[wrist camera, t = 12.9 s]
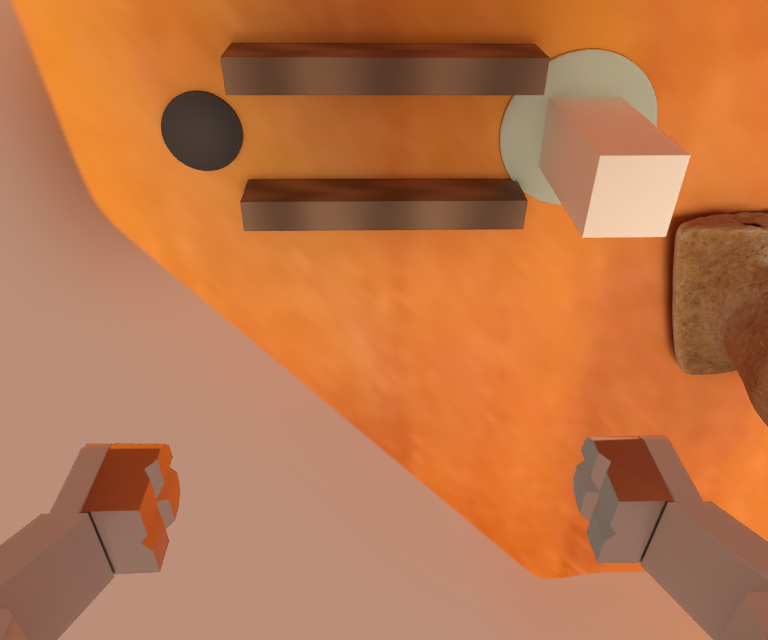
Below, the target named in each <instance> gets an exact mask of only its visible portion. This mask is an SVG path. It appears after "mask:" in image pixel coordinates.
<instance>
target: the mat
mask: <svg viewBox="0 0 768 640" xmlns="http://www.w3.org/2000/svg"><path fill="white" fill-rule="evenodd" d="M549 97H622V98H623V99H624V100H626V101H627V102H628V103H629V104H630V105H632V106H633V107H634V108H635V109H636V110H638V111H639V112H640V113H641V114H642V115H643V116H645V117H646V118H647V119H648V120H649V121H651V122H652V123H653V124H654V125H655V126H656V125H657V116H658V110H657V101H656V96H655V92H654V90H653V87H652V84H651V83H650V81H649V79H648V77H647V76H646V75H645V73H644V72H643V71H642V70H641V69H640V68H639V67H638V66H637V65H636V64H635V63H633V62H632V61H631V60H629V59H627V58H626V57H624V56H622V55H620V54H617V53H615V52H612V51H607V50H603V49H581V50H576V51H571V52H568V53H565V54H562V55H559V56H557V57H555V58H553V59H551V60H549V67H548V73H547V79H546V86H545V92H544V95H513V96H512V98H511V99H510V101H509V103H508V105H507V108H506V110H505V112H504V116H503V119H502V123H501V128H500V139H499V143H500V152H501V157H502V161H503V163H504V166H505V168H506V170H507V172H508V174H509V176H510V177H511V179H512V180H513V181H518V183H519V185H520V187H521V189H522V191H523V192H525V193H526V194H528V195H529V196H531V197H533V198H535V199H537V200H540V201H543V202H546V203H551V204H559V205H562V204H561V202H560V200H559V199H558V197H557V196H556V194H555V192H554V191H553V189H552V188H551V186H550V184H549V183H548V181H547V179H546V178H545V176H544V175H543V173H542V171H541V170H540V168H539V166H538V165H539V158H540V152H541V146H542V140H543V133H544V127H545V121H546V114H547V108H548V102H549Z"/></svg>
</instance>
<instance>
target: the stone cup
mask: <svg viewBox="0 0 768 640" xmlns="http://www.w3.org/2000/svg"><path fill="white" fill-rule="evenodd" d="M672 326H673V340H674V351H675V356H676V360H677V362H678V365H679V366H680V368H681V370H682V371H683V372H685V373H687V374H691V375H704V374H719V373H726V372H732V371H736V370H737V371H738V373H739V375H740V377H741V379H742V381H743V383H744V385H745V388H746V391H747V393H748V396H749V398H750V401H751V403H752V405H753V407H754V409H755V410H756V412H757V413H758V415H759V416H760V417H761V418H762V420H763V421H764V422H765V424H766V425H767V426H768V213H760V212H755V213H749V212H740V213H736V214H728V213H726V214H713V215H710V216H707V217H698V218H696V219H693V220H690V221H687V222H684V223H682V224H681V225H680V226H679V227H678V229H677V231H676V236H675V246H674V259H673V297H672Z"/></svg>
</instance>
